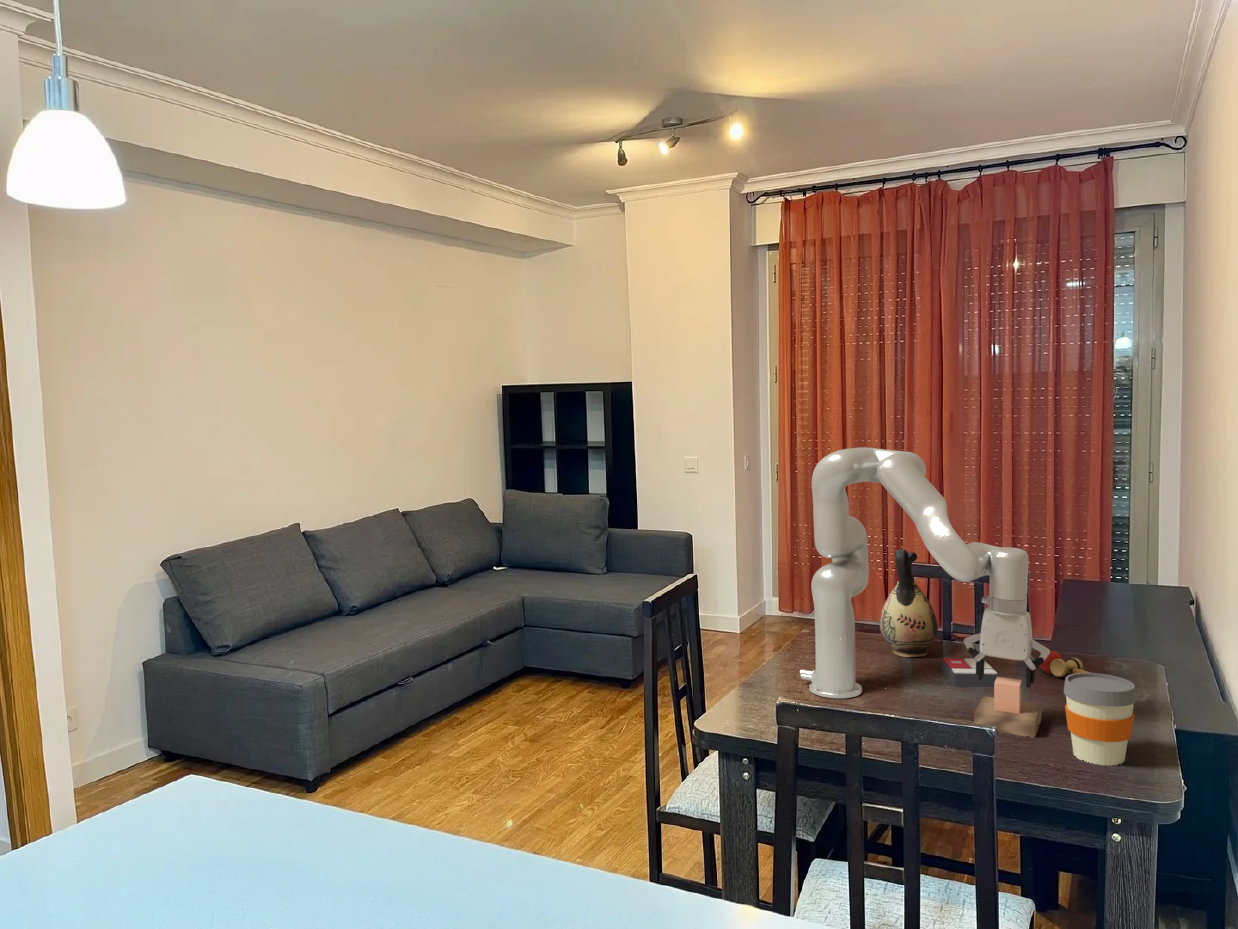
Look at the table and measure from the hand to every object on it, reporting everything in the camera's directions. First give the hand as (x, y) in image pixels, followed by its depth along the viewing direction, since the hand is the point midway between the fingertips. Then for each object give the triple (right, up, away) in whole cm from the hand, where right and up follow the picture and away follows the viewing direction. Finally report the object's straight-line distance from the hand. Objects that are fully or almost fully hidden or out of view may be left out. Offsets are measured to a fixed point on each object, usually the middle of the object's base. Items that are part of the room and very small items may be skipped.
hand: (1004, 682), depth 195 cm
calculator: (+5, -8, +33) cm, 34 cm away
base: (+1, -10, 0) cm, 10 cm away
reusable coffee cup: (+11, -10, -19) cm, 24 cm away
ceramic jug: (-3, -6, +55) cm, 56 cm away
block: (+1, -6, 0) cm, 6 cm away
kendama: (+30, -7, +29) cm, 42 cm away
